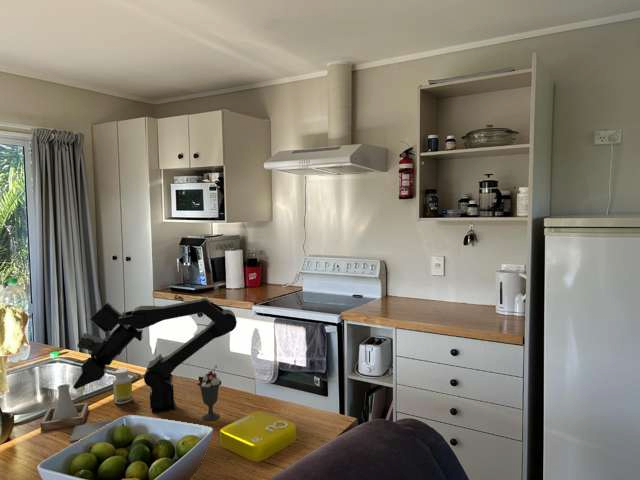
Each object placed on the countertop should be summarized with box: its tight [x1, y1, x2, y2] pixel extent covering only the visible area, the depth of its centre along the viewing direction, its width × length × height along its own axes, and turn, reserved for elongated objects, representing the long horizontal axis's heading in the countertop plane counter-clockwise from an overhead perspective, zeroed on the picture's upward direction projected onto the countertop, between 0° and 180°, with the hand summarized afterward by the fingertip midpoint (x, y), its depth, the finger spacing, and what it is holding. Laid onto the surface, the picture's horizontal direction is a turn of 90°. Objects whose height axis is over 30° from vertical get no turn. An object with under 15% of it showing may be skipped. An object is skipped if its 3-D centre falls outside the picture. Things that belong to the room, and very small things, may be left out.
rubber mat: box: [69, 420, 111, 443], centre depth 130 cm, size 9×9×1 cm
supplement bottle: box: [112, 368, 133, 405], centre depth 150 cm, size 5×5×10 cm
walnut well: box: [40, 402, 89, 431], centre depth 138 cm, size 11×11×2 cm
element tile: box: [219, 410, 297, 463], centre depth 123 cm, size 15×15×5 cm
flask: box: [51, 383, 80, 421], centre depth 138 cm, size 7×7×10 cm
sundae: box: [197, 365, 222, 422], centre depth 137 cm, size 7×7×15 cm
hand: (78, 382), depth 138 cm, fingers open, 9 cm apart
